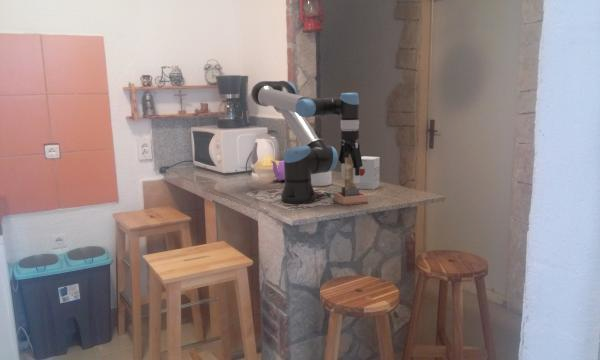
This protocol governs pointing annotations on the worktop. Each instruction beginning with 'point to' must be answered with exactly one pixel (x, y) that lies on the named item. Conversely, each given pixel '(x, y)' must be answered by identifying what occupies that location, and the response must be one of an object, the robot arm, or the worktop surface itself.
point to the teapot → (279, 170)
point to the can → (321, 179)
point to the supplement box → (369, 173)
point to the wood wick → (349, 174)
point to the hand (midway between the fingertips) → (350, 180)
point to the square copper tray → (350, 197)
